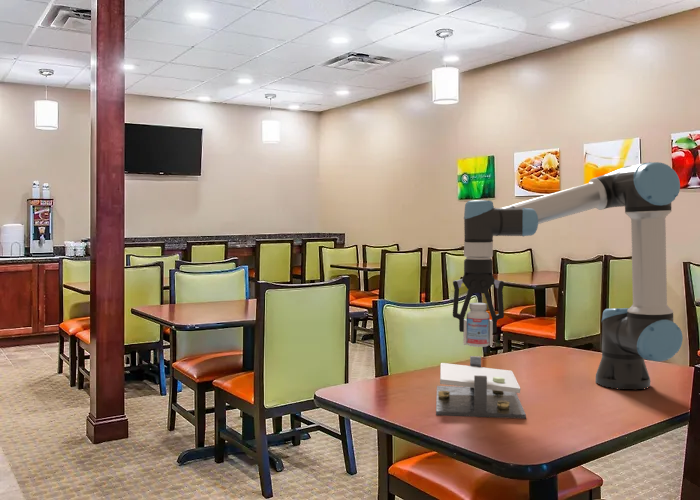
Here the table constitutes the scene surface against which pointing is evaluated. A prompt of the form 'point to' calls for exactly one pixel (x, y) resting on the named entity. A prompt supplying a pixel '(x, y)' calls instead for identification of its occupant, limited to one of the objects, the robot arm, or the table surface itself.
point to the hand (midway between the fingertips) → (477, 344)
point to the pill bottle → (478, 325)
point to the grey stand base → (478, 399)
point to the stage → (465, 375)
